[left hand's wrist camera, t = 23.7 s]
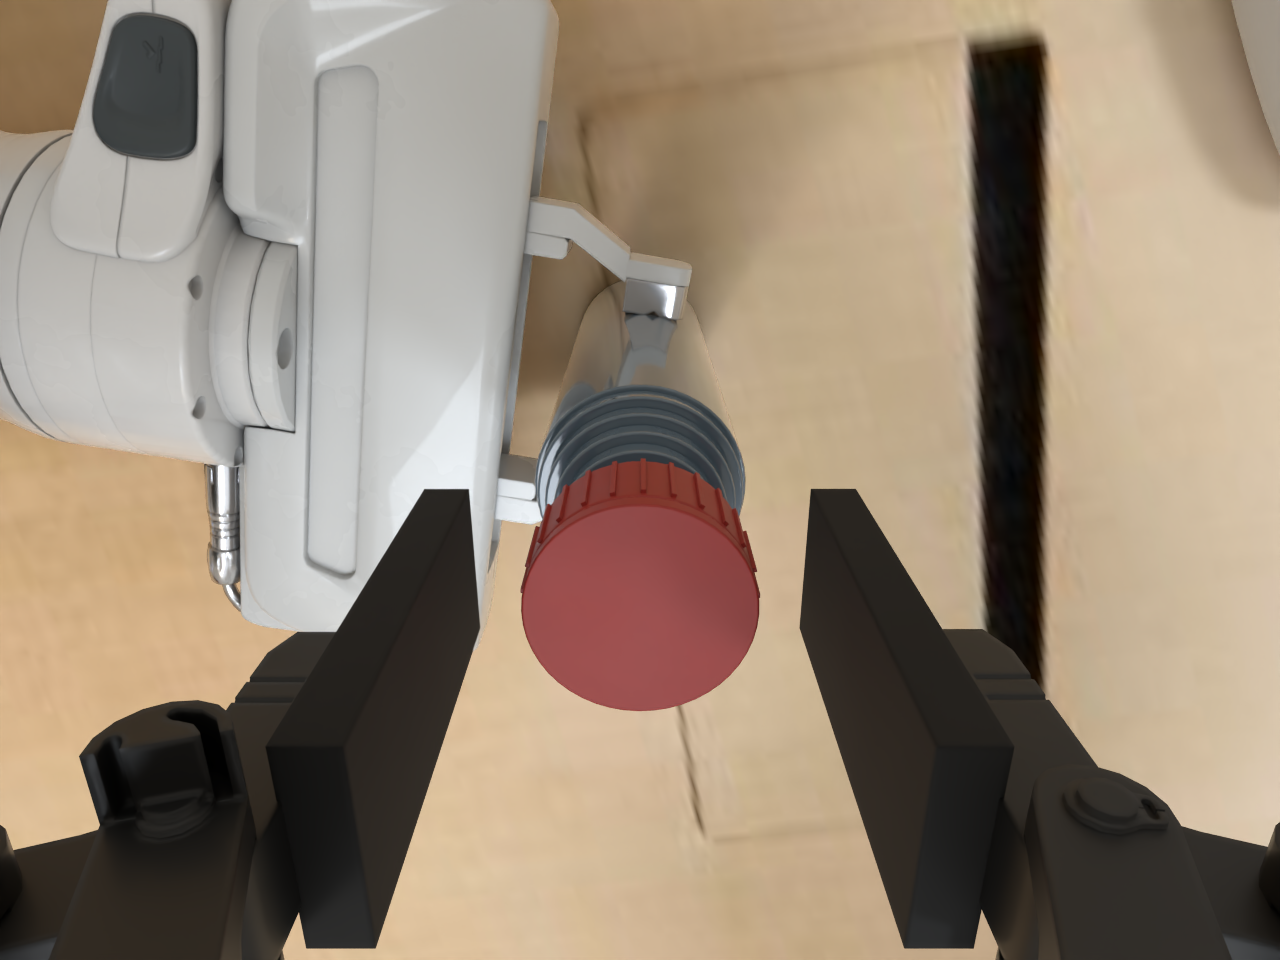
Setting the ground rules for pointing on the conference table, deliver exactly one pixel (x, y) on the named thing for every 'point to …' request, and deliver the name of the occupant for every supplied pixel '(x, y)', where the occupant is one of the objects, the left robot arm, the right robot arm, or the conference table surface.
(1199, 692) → the conference table surface
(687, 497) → the cap
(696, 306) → the conference table surface
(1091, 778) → the left robot arm
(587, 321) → the bottle
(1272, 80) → the projector
